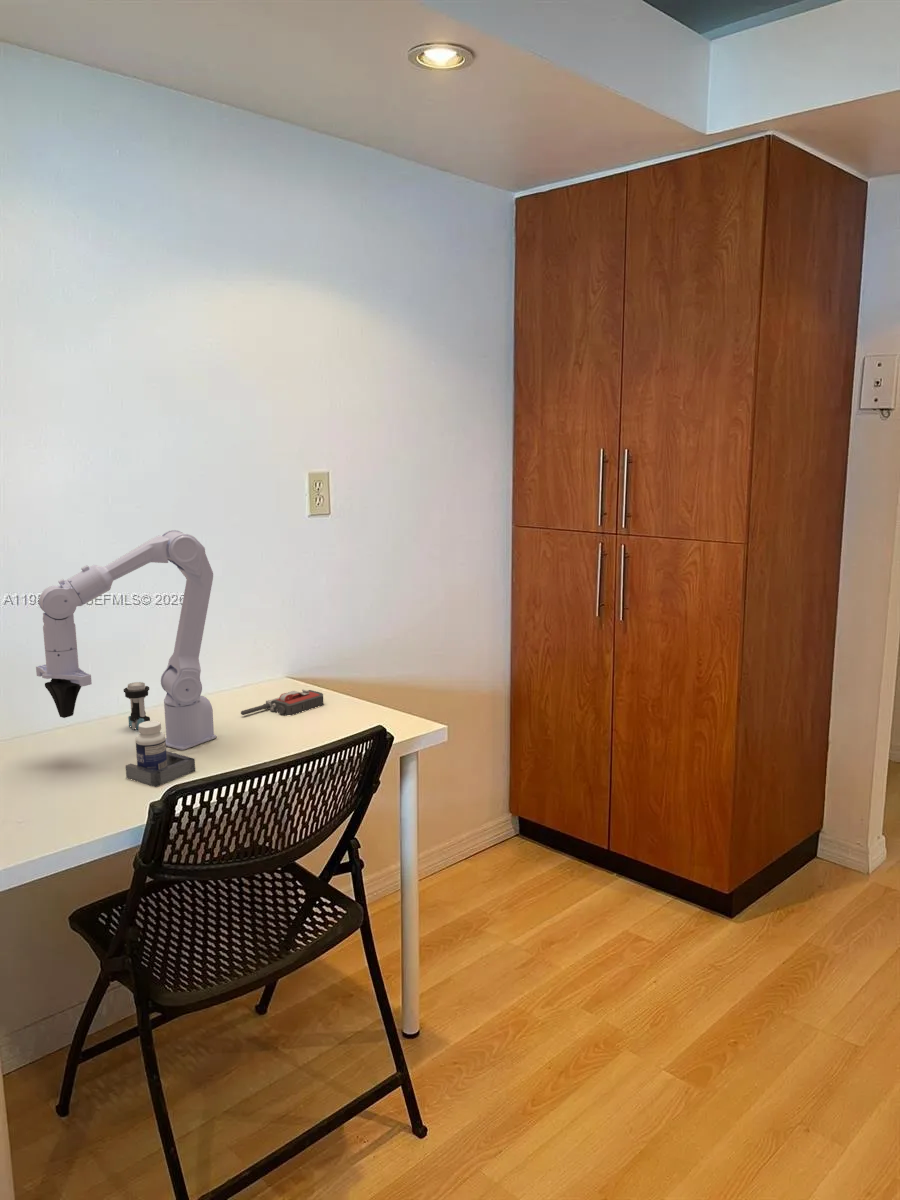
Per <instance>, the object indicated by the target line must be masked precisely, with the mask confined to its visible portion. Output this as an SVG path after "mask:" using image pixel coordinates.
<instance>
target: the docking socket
mask: <svg viewBox="0 0 900 1200" xmlns="http://www.w3.org/2000/svg"><path fill="white" fill-rule="evenodd" d="M166 755H167V767H164V768H162V769H159V770H157V771H155V770H151V769H148V768H144V767H141V766H138V765H137V764H134V763H128V764H126V765H125V775H126V776H125V778H126V779H127V778H128V779H127V780H131V779H132V780H131V781H134V780H135V782H137V781H138V783H141V784H144V785H148V786H150V787H151V786H152V787H155V788H157V787H160V786H162V785H165V784H166V783H169V782H172V781H174V780H177V779H178V778H179V779H180V778H181V777H184V776H187V775H190V774H192V773H194V772H196V759H195V758H193V757H190V756H185V755H183V754H179V753H175V752H171V751H168V750H166Z"/></svg>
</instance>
